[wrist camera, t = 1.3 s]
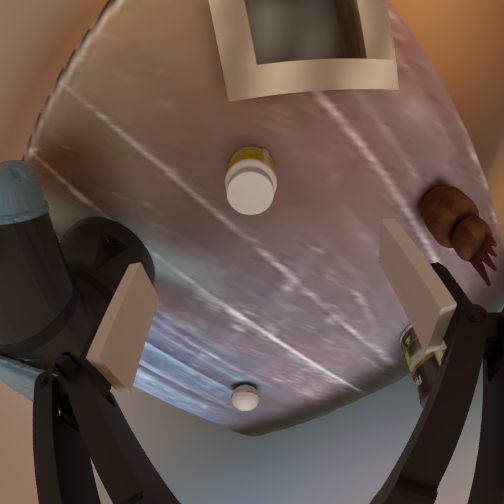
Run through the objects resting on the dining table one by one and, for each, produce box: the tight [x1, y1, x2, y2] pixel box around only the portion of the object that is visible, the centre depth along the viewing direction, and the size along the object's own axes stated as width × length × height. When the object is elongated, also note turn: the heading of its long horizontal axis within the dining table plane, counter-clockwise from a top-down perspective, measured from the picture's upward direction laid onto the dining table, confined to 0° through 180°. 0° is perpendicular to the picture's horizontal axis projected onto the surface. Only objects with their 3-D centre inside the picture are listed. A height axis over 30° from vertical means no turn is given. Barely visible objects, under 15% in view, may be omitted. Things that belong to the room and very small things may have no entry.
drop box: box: [209, 0, 399, 102], centre depth 18 cm, size 12×12×11 cm
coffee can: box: [399, 324, 447, 408], centre depth 41 cm, size 10×10×14 cm
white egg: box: [227, 385, 259, 411], centre depth 53 cm, size 8×6×6 cm
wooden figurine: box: [421, 186, 497, 286], centre depth 26 cm, size 7×6×15 cm
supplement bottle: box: [225, 145, 277, 215], centre depth 28 cm, size 5×5×8 cm
